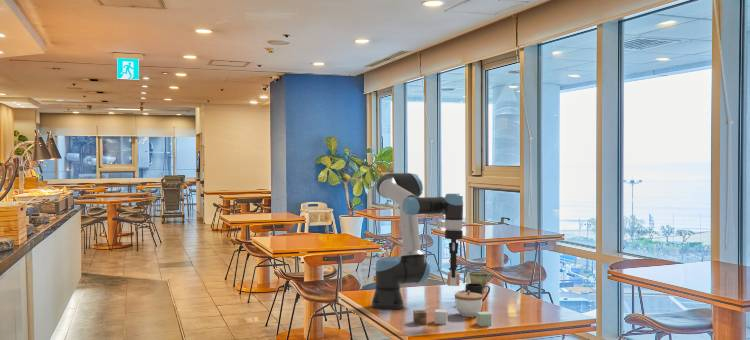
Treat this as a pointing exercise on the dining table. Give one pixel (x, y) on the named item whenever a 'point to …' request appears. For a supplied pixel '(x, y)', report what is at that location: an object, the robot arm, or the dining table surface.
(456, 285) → the terracotta block
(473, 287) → the mug
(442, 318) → the grey block
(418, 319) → the walnut block
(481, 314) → the sage block
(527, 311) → the dining table surface
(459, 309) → the lidded bowl
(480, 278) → the ceramic cup
